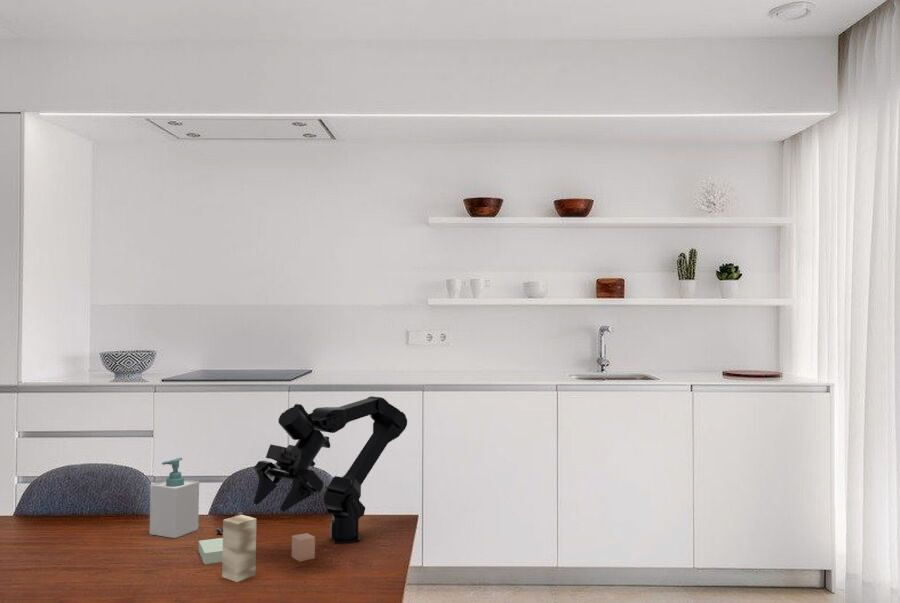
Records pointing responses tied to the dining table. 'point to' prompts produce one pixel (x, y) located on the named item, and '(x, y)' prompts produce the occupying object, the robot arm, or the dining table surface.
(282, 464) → the robot arm
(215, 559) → the sage block
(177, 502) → the soap bottle
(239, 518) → the birch pillar
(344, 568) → the dining table surface
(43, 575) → the dining table surface
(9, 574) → the dining table surface
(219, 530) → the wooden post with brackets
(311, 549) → the pinkish beige block
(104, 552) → the dining table surface
